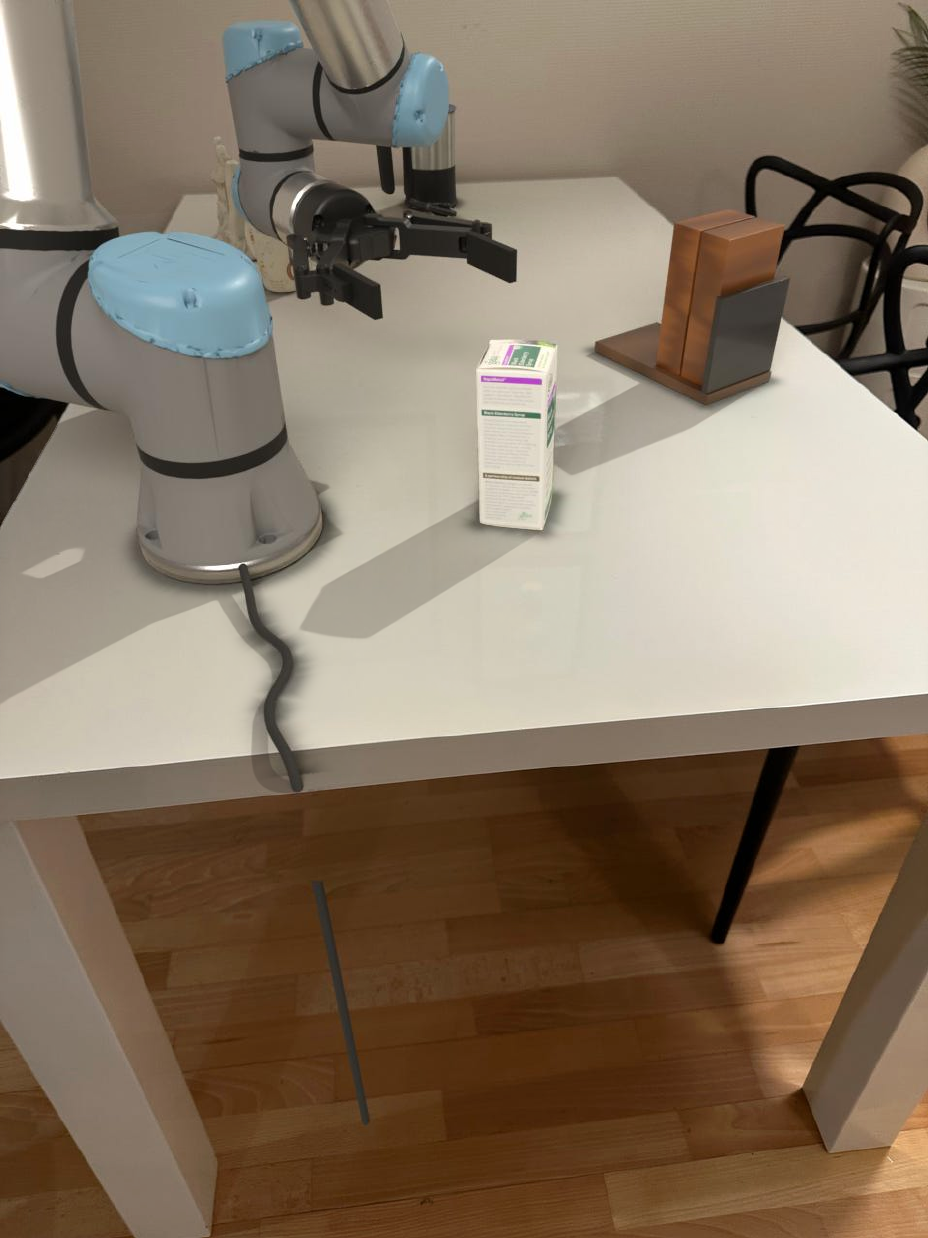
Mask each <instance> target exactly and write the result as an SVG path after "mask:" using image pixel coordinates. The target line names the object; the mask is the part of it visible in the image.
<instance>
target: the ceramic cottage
mask: <svg viewBox="0 0 928 1238" xmlns="http://www.w3.org/2000/svg"><path fill="white" fill-rule="evenodd" d="M212 141H213V144H214V146H215V149H214V157H215V159H216V165H215V167H214V169H213V170H212V171H211V176H210V177H211V181H212V182H213V183H214V185H215V190H216V195H217V202H216V205H217V211H216V214H217V221H218V225H219V226H218V227H217V230H216V233H214V239H217V240H220V241H223V242H226V243H228V244H230V245H232V246H234V247H235V248H237V249H239V250H240V251H242V252H243V253H244V254H245V255H246V256H248V257H249V258H250V259H251V261H254V260H255V261H257V259H256V258H255V257H254V255H253V254H252V253H251V251H250V249H249V247H248V245H247V242H246V238H245V222H246V220H245V219H244V218H243V217H242V216H241V215H240V214H239V212H238V211H237V209H236V207H235V205H234V202H233V199H232V194H231V185H232V179H233V176H234V172H235V170H236V168H237V166H238V165H239V163H240V162H238V160H236V159H235V158H234V157H233V156H231V155H228V154H227V151H226V147H225V146H224V144H223V140H222V138H221V137H220V136H215V137H213V138H212Z"/></svg>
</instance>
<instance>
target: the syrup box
mask: <svg viewBox="0 0 928 1238" xmlns="http://www.w3.org/2000/svg"><path fill="white" fill-rule="evenodd" d="M557 369H558V344H557V343H555V342H549V341H542V340H535V339H534V340H533V339H513V338H511V339H490V340H489V342H488V345H487V347H486V349H485V350H484V352H483V353H482V355H481V357H480V360H479V362H478V364H477V366H476V369H475V386H476V437H477V471H478V473H477V475H478V476H477V478H478V513H479V515H478V517H479V523H480V524H482V525H487V526H493V527H501V528H510V529H511V528H512V529H522V530H534V531H543V530H544V527H545V524H546V522H547V518H548V515H549V511H550V507H551V505H552V499H553V496H554V464H555V463H554V462H555V439H556V411H557V410H556V409H557V407H556V406H557V405H556V404H557V375H558V370H557Z"/></svg>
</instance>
